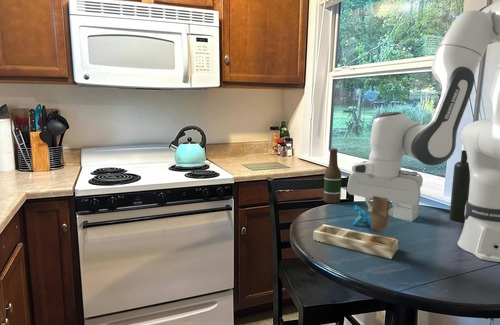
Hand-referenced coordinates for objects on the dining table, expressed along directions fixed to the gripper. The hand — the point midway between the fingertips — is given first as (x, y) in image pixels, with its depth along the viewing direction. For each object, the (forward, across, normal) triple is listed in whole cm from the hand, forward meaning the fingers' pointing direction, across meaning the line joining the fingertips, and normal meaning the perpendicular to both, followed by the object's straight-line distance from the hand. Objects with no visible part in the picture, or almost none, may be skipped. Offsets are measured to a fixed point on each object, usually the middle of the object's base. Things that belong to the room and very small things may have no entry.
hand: (380, 213), depth 103 cm
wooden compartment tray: (+12, +7, 0) cm, 14 cm away
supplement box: (+12, -1, -36) cm, 38 cm away
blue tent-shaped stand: (+12, +10, -19) cm, 25 cm away
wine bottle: (+11, -18, -44) cm, 49 cm away
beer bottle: (+12, +31, -41) cm, 53 cm away
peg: (+5, 0, 0) cm, 5 cm away
